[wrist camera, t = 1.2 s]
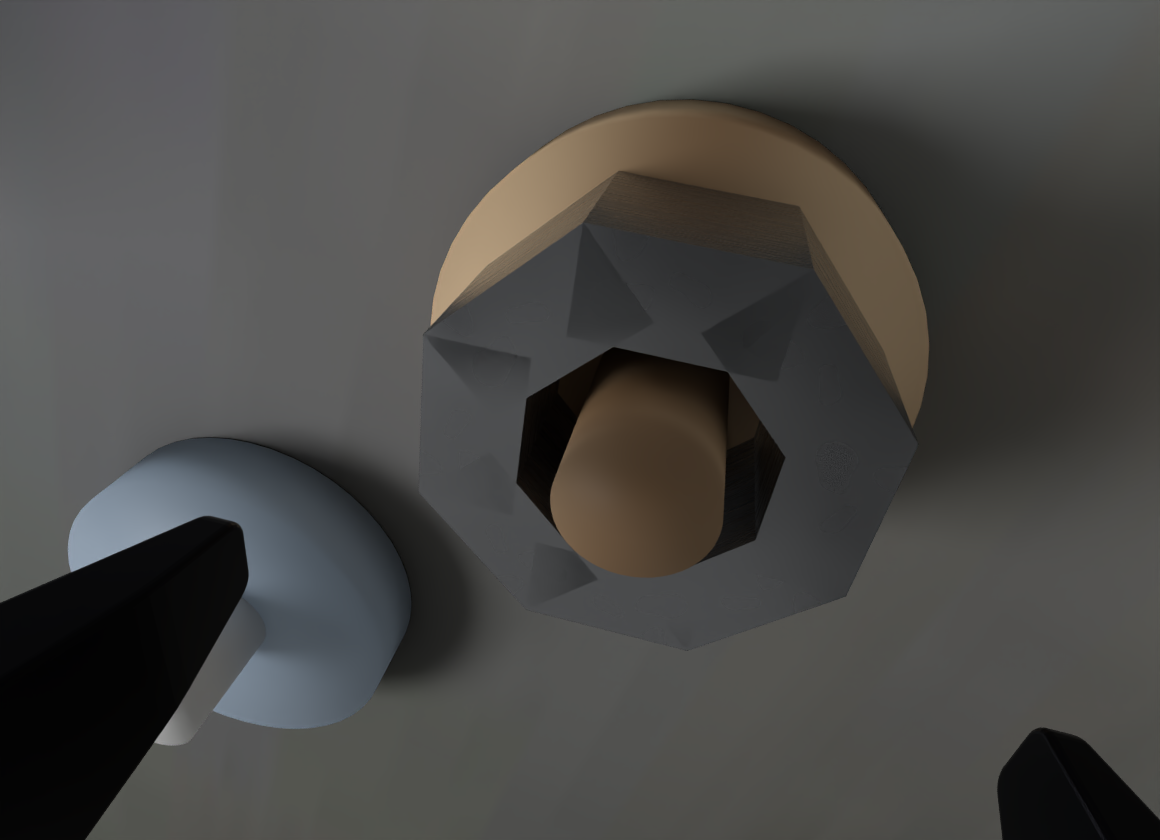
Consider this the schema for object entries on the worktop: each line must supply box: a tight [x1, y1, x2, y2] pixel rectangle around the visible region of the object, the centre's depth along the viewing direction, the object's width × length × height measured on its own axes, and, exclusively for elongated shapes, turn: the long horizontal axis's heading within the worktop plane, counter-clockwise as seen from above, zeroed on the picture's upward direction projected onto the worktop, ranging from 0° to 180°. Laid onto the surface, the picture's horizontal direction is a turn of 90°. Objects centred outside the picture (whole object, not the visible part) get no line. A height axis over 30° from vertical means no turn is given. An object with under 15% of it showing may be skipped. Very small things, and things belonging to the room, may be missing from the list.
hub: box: [68, 438, 411, 746], centre depth 19 cm, size 9×9×5 cm
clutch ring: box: [419, 171, 919, 651], centre depth 12 cm, size 7×7×3 cm
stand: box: [431, 100, 929, 578], centre depth 13 cm, size 9×9×6 cm
